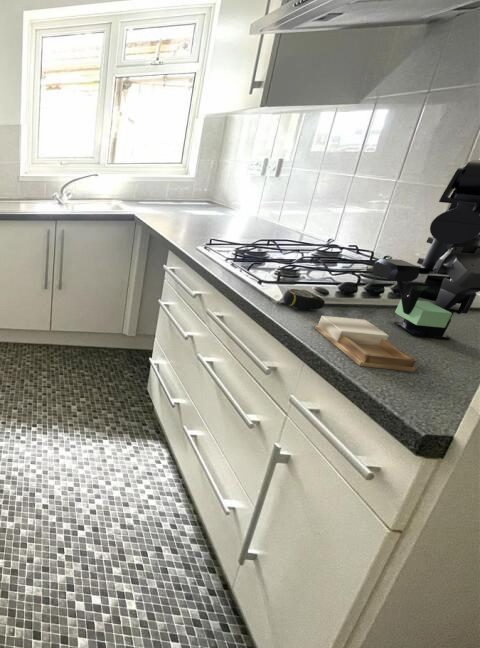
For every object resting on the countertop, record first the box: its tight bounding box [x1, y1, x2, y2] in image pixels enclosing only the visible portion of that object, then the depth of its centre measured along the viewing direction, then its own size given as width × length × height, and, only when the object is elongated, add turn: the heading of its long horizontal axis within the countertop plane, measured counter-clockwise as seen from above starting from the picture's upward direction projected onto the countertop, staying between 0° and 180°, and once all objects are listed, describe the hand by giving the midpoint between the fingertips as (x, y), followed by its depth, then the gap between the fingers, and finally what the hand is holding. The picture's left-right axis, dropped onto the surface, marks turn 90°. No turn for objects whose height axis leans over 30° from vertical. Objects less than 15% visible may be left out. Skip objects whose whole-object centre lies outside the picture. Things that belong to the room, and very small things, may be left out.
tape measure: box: [282, 288, 326, 311], centre depth 101 cm, size 7×7×4 cm
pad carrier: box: [315, 315, 417, 373], centre depth 82 cm, size 16×8×3 cm, turn 166°
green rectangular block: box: [394, 299, 452, 328], centre depth 80 cm, size 6×4×3 cm
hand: (420, 315), depth 81 cm, fingers closed on green rectangular block, 4 cm apart
